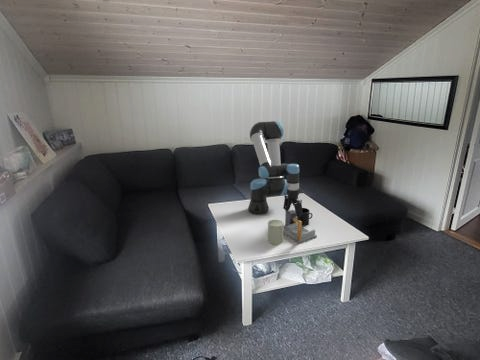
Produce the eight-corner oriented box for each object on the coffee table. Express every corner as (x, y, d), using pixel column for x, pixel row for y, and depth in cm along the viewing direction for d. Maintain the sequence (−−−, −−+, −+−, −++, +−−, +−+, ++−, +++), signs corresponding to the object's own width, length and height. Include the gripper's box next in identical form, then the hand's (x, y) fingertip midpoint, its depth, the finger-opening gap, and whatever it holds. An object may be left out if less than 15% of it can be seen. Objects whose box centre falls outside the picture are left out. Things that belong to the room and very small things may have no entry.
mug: (314, 225, 192) (315, 212, 190) (296, 226, 191) (297, 213, 188) (309, 219, 201) (310, 206, 199) (292, 220, 200) (293, 208, 197)
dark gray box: (285, 225, 192) (285, 211, 189) (292, 223, 195) (292, 209, 192) (289, 228, 188) (290, 214, 185) (296, 226, 191) (297, 212, 188)
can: (266, 237, 178) (266, 219, 174) (281, 236, 178) (281, 218, 175) (269, 245, 169) (269, 226, 165) (284, 244, 170) (285, 225, 166)
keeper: (281, 232, 183) (282, 212, 179) (298, 227, 190) (299, 207, 186) (299, 243, 170) (299, 222, 166) (316, 237, 177) (318, 216, 173)
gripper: (277, 186, 191) (277, 218, 197) (300, 194, 173) (299, 229, 179) (286, 184, 194) (286, 216, 200) (309, 191, 176) (308, 226, 182)
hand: (292, 222), depth 189 cm, fingers open, 9 cm apart
